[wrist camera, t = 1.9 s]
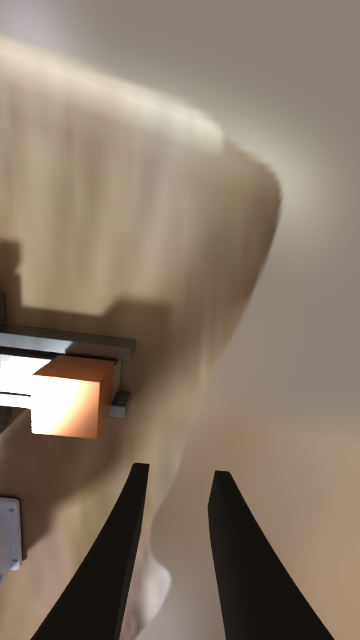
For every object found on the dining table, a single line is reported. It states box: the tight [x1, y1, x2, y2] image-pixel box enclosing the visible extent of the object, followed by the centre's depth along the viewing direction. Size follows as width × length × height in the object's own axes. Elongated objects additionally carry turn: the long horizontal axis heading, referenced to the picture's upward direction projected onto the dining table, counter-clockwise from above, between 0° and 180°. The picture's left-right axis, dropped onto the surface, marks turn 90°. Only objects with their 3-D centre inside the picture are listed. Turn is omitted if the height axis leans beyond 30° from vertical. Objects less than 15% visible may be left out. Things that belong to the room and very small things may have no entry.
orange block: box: [0, 346, 121, 439], centre depth 15 cm, size 4×11×5 cm, turn 83°
